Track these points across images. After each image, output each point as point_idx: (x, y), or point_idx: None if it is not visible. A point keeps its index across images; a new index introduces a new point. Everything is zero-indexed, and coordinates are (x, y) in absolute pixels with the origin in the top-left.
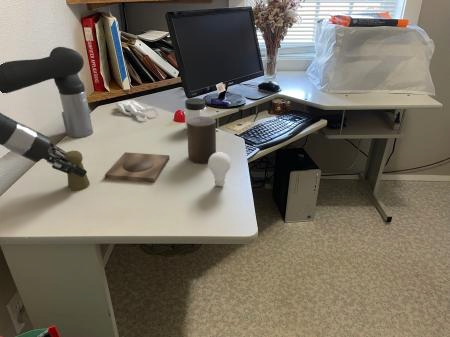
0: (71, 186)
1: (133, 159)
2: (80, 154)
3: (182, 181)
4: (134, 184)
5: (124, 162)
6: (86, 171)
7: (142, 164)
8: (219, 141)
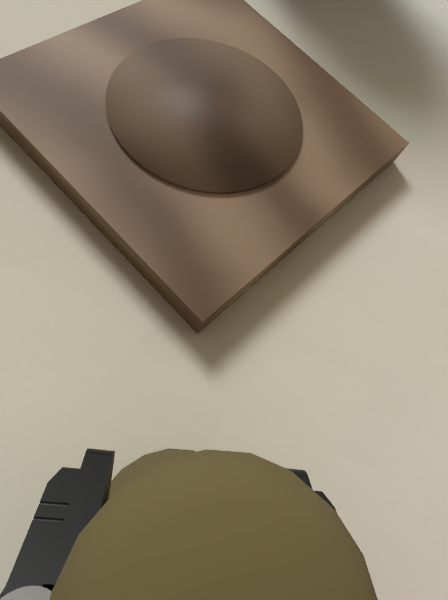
0: None
1: (127, 96)
2: (299, 487)
3: (436, 85)
4: (362, 237)
5: (128, 150)
6: (305, 472)
7: (231, 99)
8: None
